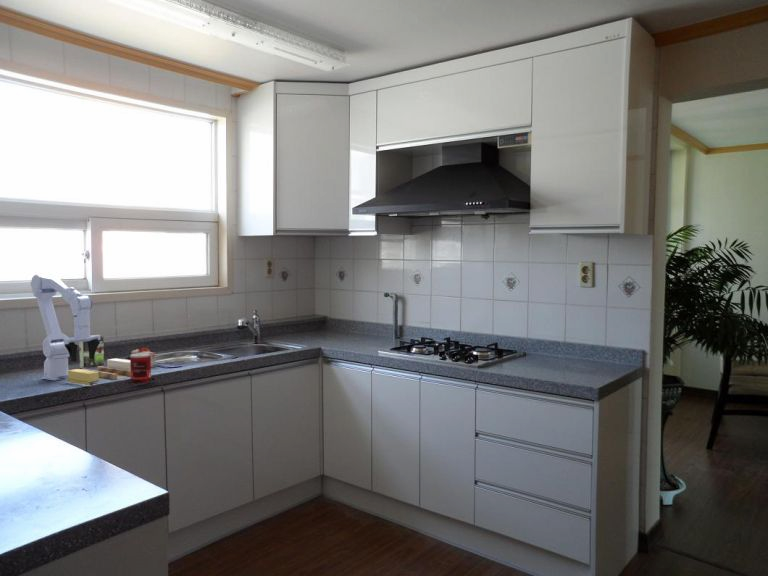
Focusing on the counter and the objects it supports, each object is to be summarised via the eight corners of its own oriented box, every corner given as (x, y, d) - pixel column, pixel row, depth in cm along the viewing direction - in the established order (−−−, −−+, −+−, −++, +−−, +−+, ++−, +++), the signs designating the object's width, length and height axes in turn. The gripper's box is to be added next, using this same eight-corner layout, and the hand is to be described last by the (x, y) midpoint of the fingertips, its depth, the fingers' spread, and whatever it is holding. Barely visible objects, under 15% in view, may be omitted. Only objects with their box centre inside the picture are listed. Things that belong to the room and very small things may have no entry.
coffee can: (109, 366, 279) (108, 335, 278) (91, 369, 269) (90, 338, 268) (92, 364, 282) (91, 334, 282) (74, 368, 273) (73, 337, 272)
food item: (158, 370, 269) (157, 348, 269) (140, 372, 264) (140, 350, 263) (145, 366, 279) (144, 345, 278) (128, 368, 273) (127, 346, 273)
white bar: (107, 371, 258) (107, 359, 258) (115, 369, 262) (115, 358, 261) (128, 374, 251) (128, 362, 251) (136, 372, 255) (136, 361, 254)
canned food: (144, 378, 250) (144, 352, 250) (154, 381, 245) (154, 354, 245) (127, 381, 244) (126, 354, 244) (137, 384, 239) (136, 356, 239)
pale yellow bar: (68, 382, 243) (67, 370, 243) (77, 380, 247) (77, 368, 246) (89, 386, 236) (89, 373, 236) (98, 384, 240) (98, 372, 239)
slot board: (81, 377, 252) (81, 369, 252) (114, 371, 266) (114, 363, 265) (114, 383, 241) (114, 374, 241) (147, 376, 254) (147, 368, 254)
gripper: (70, 328, 232) (71, 363, 233) (104, 324, 244) (105, 357, 245) (59, 327, 235) (60, 361, 236) (94, 323, 248) (94, 356, 249)
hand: (82, 359), depth 241 cm, fingers open, 7 cm apart
